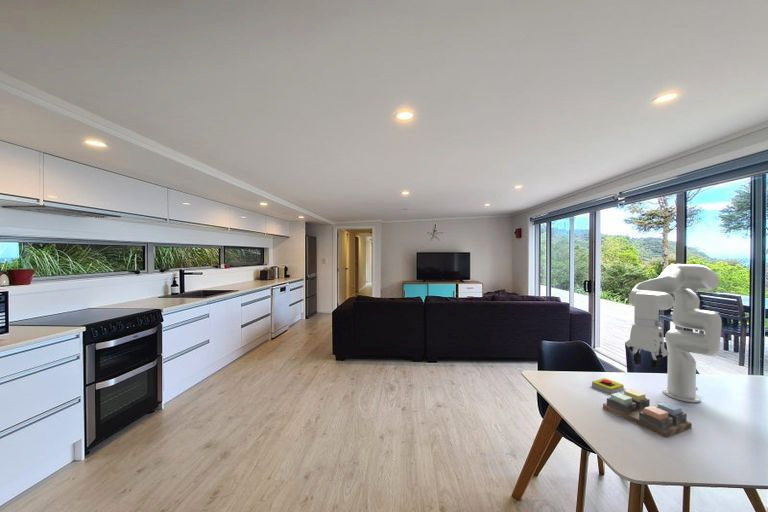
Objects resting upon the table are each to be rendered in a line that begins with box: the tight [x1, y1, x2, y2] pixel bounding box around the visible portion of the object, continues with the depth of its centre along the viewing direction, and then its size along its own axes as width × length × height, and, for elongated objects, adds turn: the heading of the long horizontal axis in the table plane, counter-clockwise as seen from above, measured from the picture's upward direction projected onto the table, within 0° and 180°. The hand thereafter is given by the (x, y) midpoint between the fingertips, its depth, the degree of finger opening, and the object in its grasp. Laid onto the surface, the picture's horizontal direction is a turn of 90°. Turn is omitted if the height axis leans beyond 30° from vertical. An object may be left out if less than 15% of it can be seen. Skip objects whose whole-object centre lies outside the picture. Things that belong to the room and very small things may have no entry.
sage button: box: [610, 392, 632, 405], centre depth 125 cm, size 5×5×3 cm
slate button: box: [657, 401, 683, 416], centre depth 117 cm, size 5×5×3 cm
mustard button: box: [623, 388, 646, 401], centre depth 128 cm, size 5×5×3 cm
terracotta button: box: [644, 405, 668, 421], centre depth 114 cm, size 5×5×3 cm
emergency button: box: [589, 377, 627, 396], centre depth 148 cm, size 9×4×15 cm
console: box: [602, 396, 693, 438], centre depth 121 cm, size 17×22×5 cm
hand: (645, 365), depth 121 cm, fingers open, 5 cm apart
